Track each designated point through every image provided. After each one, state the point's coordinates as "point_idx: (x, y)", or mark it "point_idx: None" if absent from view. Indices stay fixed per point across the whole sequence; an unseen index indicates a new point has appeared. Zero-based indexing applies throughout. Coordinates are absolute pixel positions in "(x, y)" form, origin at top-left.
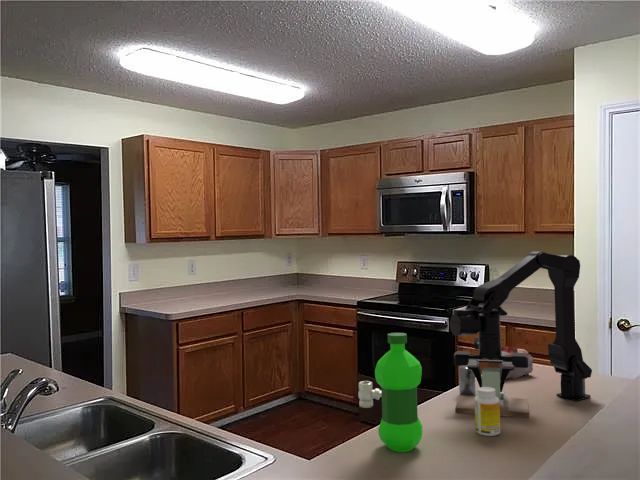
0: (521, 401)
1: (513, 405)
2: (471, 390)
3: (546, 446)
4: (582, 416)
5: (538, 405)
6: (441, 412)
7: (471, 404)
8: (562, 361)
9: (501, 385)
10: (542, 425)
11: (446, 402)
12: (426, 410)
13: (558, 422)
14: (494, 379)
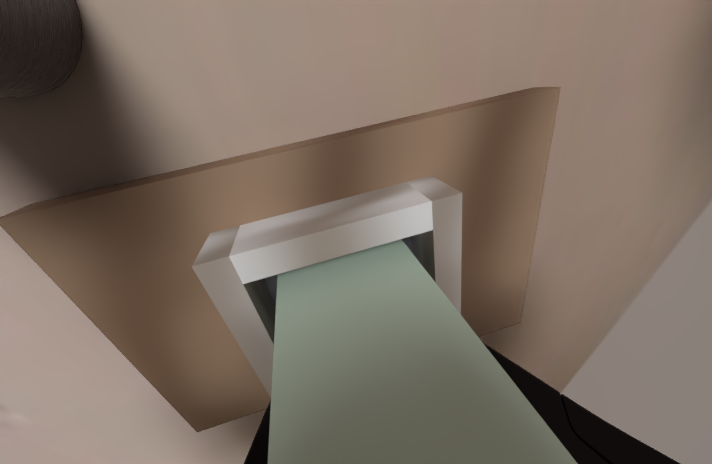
0: (514, 173)
1: (465, 267)
2: (13, 62)
3: None
4: (701, 200)
5: (586, 106)
6: (141, 435)
7: (246, 358)
8: None
9: None
10: (533, 348)
11: (13, 312)
12: (48, 454)
13: (589, 302)
14: None
